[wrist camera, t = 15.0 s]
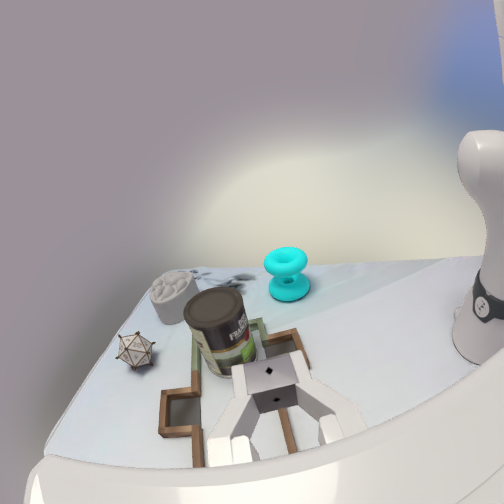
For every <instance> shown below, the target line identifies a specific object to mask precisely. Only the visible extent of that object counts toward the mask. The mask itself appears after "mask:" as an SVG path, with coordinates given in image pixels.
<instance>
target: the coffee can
mask: <svg viewBox="0 0 504 504" xmlns="http://www.w3.org/2000/svg"><path fill="white" fill-rule="evenodd" d="M183 316H184V319H185V321H186V322H187V324H188V325H189V328H190V330H191V332H192V334H193V336H194V338H195V340H196V342H197V344H198V346H199V348H200V350H201V352H202V354H203V356H204V358H205V360H206V362H207V364H208V367H209V369H210V370H211V371H212V372H213V373H214V374H215V375H217V376H220V377H223V378H232V371H231V368H232V366H235V365H240V364H245V363H250V362H255V361H257V349H256V347H255V344H254V340H253V337H252V334H251V330H250V326H249V323H248V319H247V316H246V312H245V308H244V305H243V298H242V296H241V294H240V293H239V292H238V291H237V290H235V289H233V288H229V287H214V288H210V289H207V290H204V291H202V292H200V293H198V294H196V295H195V296H193V297H192V298H191V299H190V300H189V301H188V302H187V303H186V305H185V307H184V310H183Z"/></svg>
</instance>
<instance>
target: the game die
mask: <svg viewBox="0 0 504 504" xmlns="http://www.w3.org/2000/svg"><path fill="white" fill-rule="evenodd" d="M139 334H140V332H139V331H138V332H136V333H135V335H130V336H124V337H121V336H120V335H118V337H119V338H121V339H120V347H119V356H118V357H116V358H115V359H118V358H120V359H122V360H123V361H125V362H126V363H128V364H130V365H131V366H132V369H134V371H135V370H136V368H135V367H138V366H142V365H146V364H150V365H152V366H153V364H152V363H151V352H152V344H155V343H156V342H152V343H151V342H149V341H148V340H146V339H145V338H143V337H142V336H140V335H139Z"/></svg>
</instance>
